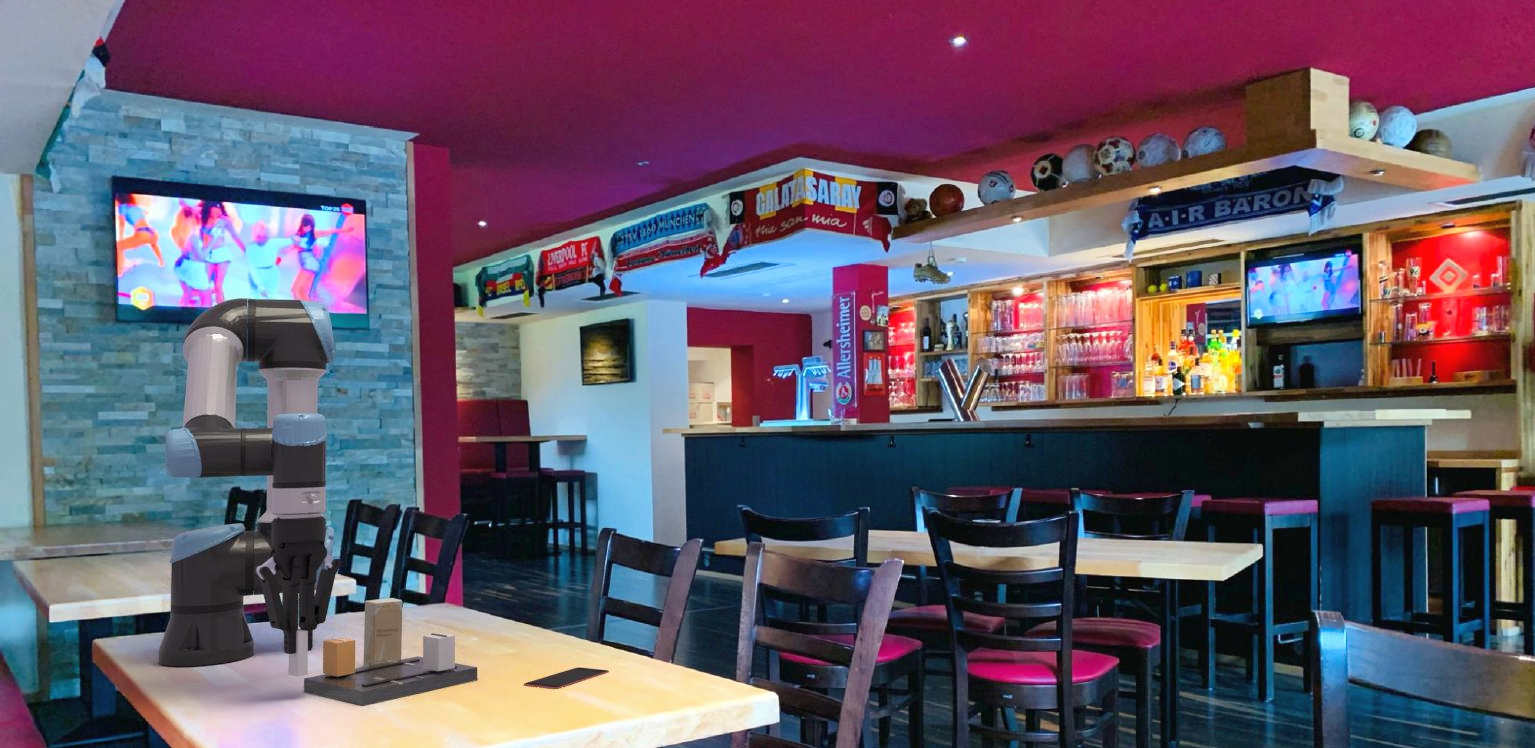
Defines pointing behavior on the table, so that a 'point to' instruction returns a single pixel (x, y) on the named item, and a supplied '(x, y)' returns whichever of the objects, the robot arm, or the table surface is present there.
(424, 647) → the fader grey
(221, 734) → the table surface
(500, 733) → the table surface
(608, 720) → the table surface
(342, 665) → the fader orange
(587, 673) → the smartphone
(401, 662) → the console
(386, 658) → the box
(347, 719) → the table surface
